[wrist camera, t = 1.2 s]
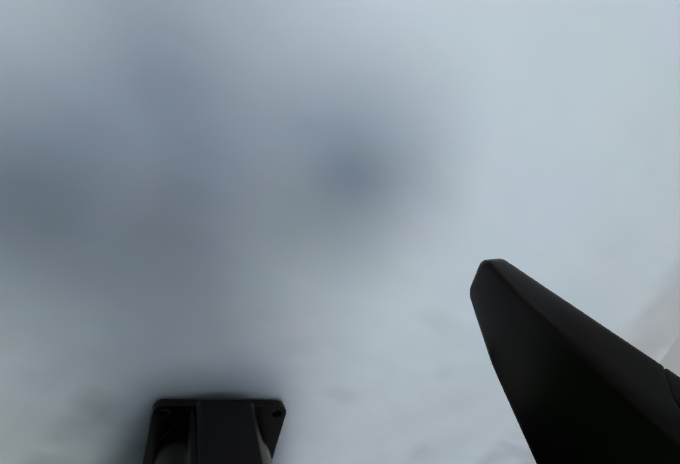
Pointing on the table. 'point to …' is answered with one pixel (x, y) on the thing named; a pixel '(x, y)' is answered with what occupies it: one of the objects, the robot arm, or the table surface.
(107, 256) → the table surface
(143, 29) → the table surface
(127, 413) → the table surface
